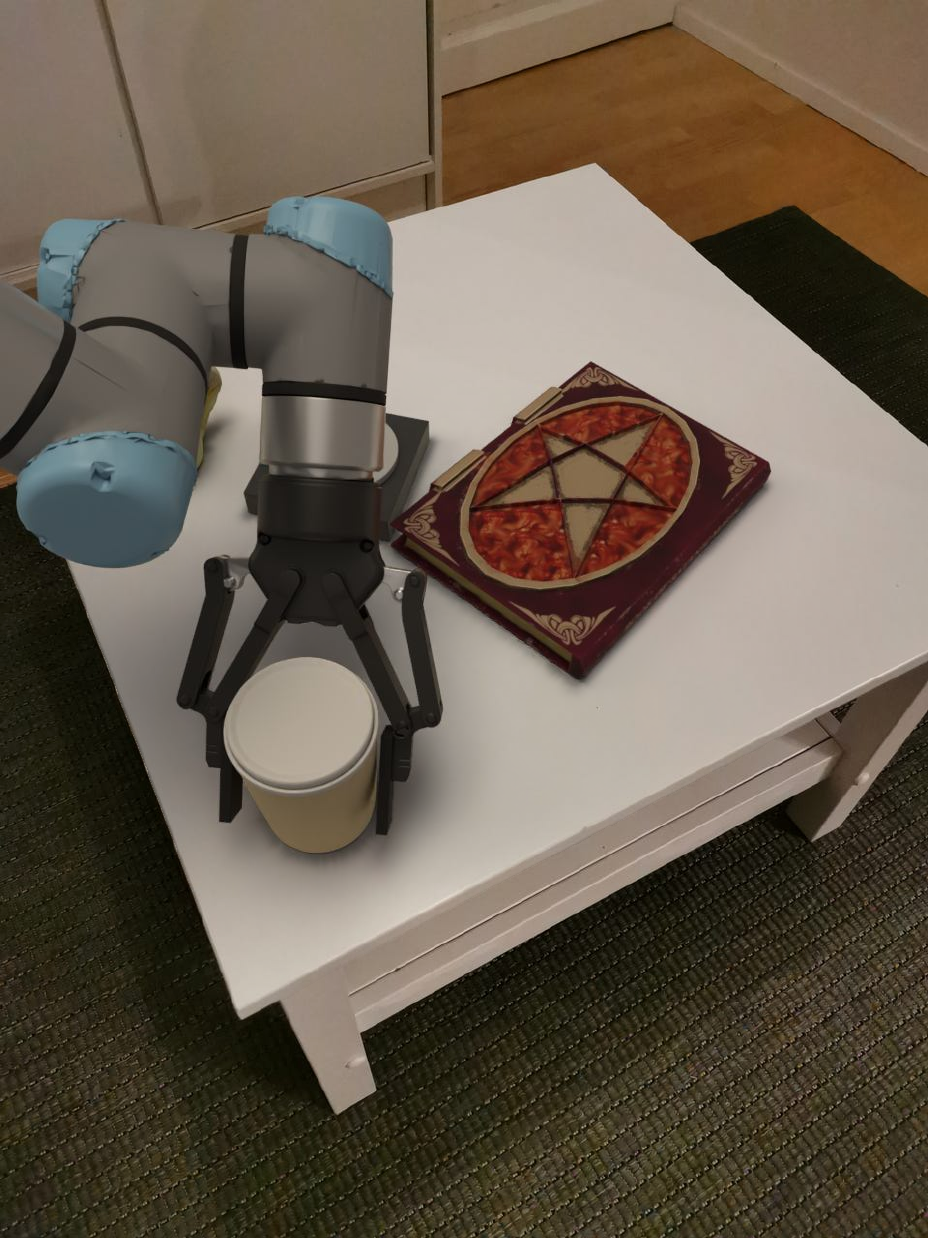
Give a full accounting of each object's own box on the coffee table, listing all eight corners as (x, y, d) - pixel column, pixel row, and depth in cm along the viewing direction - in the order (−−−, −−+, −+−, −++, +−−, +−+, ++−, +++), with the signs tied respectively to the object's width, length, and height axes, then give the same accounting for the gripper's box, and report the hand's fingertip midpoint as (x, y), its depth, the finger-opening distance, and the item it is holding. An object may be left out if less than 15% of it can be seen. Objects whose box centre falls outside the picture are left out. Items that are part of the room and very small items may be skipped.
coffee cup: (412, 781, 66) (407, 694, 56) (337, 891, 61) (317, 816, 51) (307, 722, 68) (284, 629, 59) (226, 823, 64) (188, 740, 54)
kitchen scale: (248, 512, 81) (241, 485, 78) (299, 415, 88) (295, 388, 86) (389, 541, 79) (387, 515, 76) (429, 440, 87) (429, 414, 84)
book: (580, 686, 71) (589, 651, 67) (383, 544, 79) (382, 505, 75) (763, 489, 84) (780, 450, 80) (579, 383, 92) (587, 343, 88)
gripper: (500, 485, 60) (477, 813, 63) (166, 463, 60) (161, 788, 64) (500, 486, 52) (474, 858, 56) (119, 461, 53) (116, 829, 56)
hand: (307, 821), depth 60 cm, fingers open, 9 cm apart
